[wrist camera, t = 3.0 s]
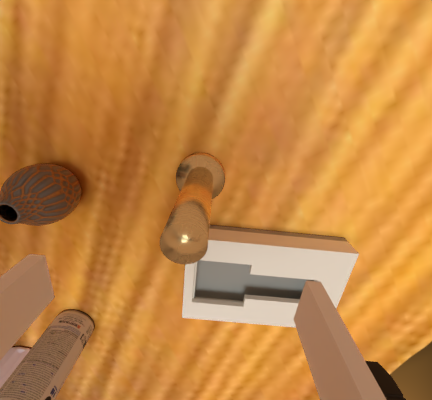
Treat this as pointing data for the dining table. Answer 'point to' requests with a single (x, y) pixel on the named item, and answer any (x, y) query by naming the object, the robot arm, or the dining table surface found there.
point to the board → (263, 274)
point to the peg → (192, 209)
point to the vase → (39, 195)
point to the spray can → (49, 359)
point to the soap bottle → (11, 362)
